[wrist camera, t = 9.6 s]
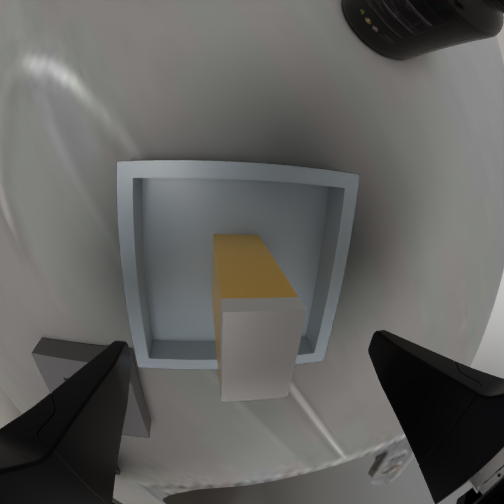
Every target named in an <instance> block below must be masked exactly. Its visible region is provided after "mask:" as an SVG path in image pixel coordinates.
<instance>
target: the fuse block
mask: <svg viewBox="0 0 504 504" xmlns="http://www.w3.org/2000/svg"><path fill="white" fill-rule="evenodd" d="M107 347H108V346H101V345H91V344H82V343H74V342H67V341H60V340H53V339H47V338H41V340H40V341H39V343H38V344H37V346H36V347H35V349H34V350H33V352H32V355H33V357H34V359H35V362H36V364H37V366H38V368H39V370H40V372H41V375H42V377H43V379H44V381H45V383H46V385H47V387H48V389H49V391H50V393H51V394H52V391H54V390H55V389H56V388H57V387H58V386H60V385H61V384H62V383H63V382H65V381H66V380H67V379H68V378H69V377H71V376H72V375H73V374H74V373H76V372H77V371H78V370H79V369H81V368H82V367H83V366H84V365H85V364H87V363H88V362H89V361H90V360H92V359H93V358H94V357H95V356H97V355H98V354H99V353H100V352H102V351H103V350H104V349H105V348H107ZM129 353H130V357H131V375H130V385H129V396H128V405H127V410H126V415H125V420H124V425H123V430H122V435H127V436H136V437H146V438H149V437H150V427H151V419H150V416H149V413H148V409H147V406H146V403H145V399H144V396H143V392H142V388H141V385H140V381H139V377H138V373H137V369H136V365H135V360H134V356H133V352H132V348H129Z"/></svg>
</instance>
